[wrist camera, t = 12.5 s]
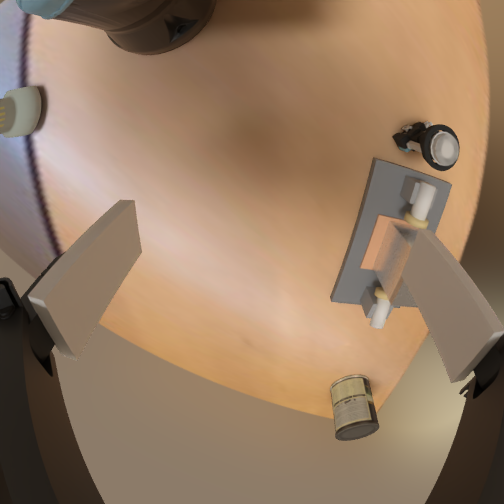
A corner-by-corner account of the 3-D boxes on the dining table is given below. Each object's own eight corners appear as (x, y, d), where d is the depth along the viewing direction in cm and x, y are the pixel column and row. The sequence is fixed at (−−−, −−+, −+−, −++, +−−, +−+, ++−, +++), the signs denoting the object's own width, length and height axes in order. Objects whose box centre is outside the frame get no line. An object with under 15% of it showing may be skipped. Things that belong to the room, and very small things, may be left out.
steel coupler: (372, 267, 39) (391, 305, 31) (389, 220, 35) (415, 253, 27) (398, 270, 39) (419, 307, 32) (415, 226, 35) (444, 258, 27)
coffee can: (376, 377, 57) (388, 424, 45) (352, 396, 62) (359, 441, 50) (346, 371, 56) (355, 423, 44) (322, 392, 61) (326, 440, 49)
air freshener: (51, 83, 27) (8, 89, 19) (47, 130, 32) (5, 144, 23) (16, 90, 27) (-23, 98, 18) (13, 131, 31) (-24, 145, 22)
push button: (418, 107, 28) (460, 113, 19) (434, 139, 30) (476, 154, 21) (385, 128, 30) (421, 139, 21) (402, 160, 32) (439, 181, 23)
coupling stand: (373, 157, 32) (396, 171, 26) (447, 182, 32) (476, 200, 26) (329, 297, 45) (337, 330, 38) (397, 304, 45) (410, 333, 38)
